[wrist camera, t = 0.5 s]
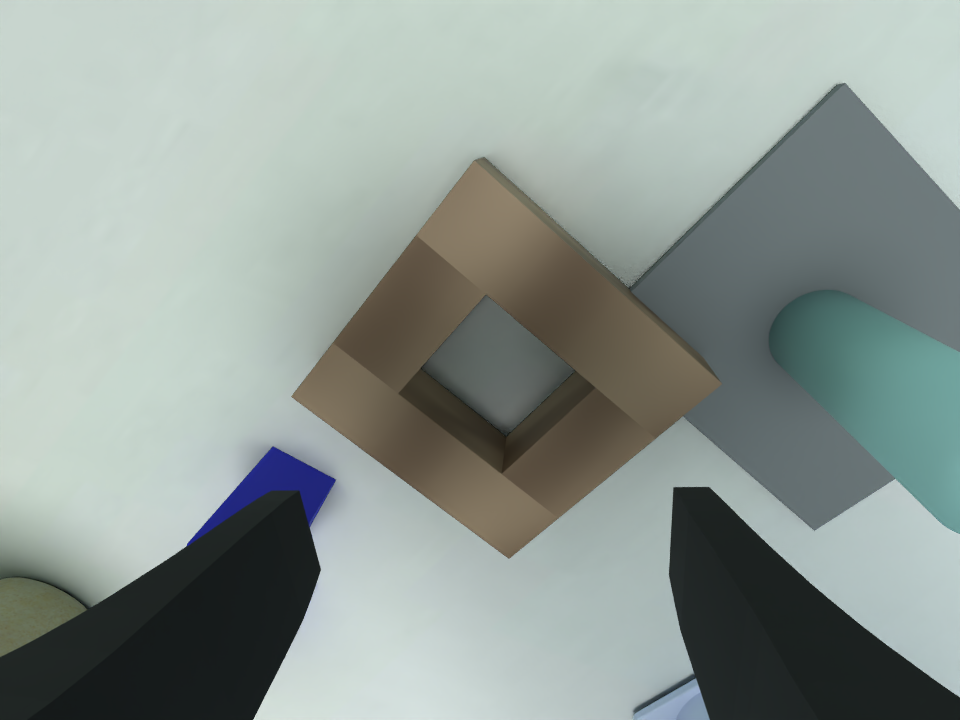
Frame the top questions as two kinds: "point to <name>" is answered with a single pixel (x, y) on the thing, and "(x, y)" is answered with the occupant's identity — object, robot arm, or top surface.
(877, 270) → the mat
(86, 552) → the top surface
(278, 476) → the cable clip
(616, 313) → the socket block
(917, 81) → the top surface
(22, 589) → the plant pot
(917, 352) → the peg
